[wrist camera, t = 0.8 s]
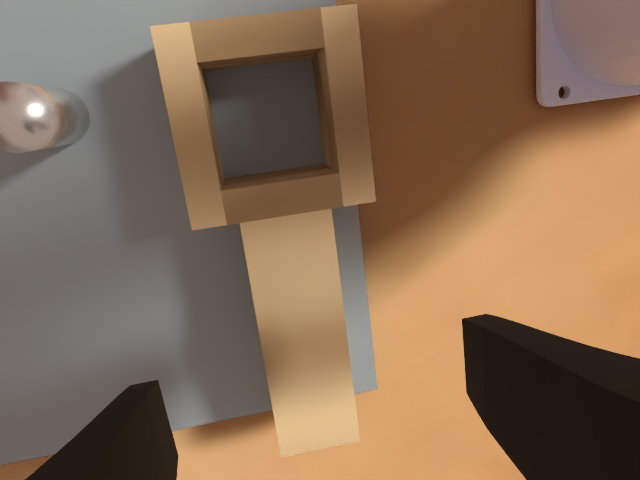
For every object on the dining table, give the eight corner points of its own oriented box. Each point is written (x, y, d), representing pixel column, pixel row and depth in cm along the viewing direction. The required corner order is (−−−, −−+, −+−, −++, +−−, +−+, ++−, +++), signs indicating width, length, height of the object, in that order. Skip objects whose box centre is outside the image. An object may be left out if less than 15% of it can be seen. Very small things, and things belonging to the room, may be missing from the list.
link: (166, 40, 16) (149, 26, 14) (338, 21, 17) (356, 3, 14) (241, 416, 21) (240, 466, 18) (377, 389, 21) (398, 432, 18)
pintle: (90, 86, 17) (40, 77, 13) (103, 139, 18) (59, 147, 14) (35, 92, 17) (-35, 86, 13) (50, 146, 18) (-13, 157, 13)
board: (312, -163, 16) (316, -180, 15) (371, 377, 22) (377, 389, 21) (-432, -111, 14) (-482, -128, 13) (-150, 480, 20) (-170, 499, 19)
